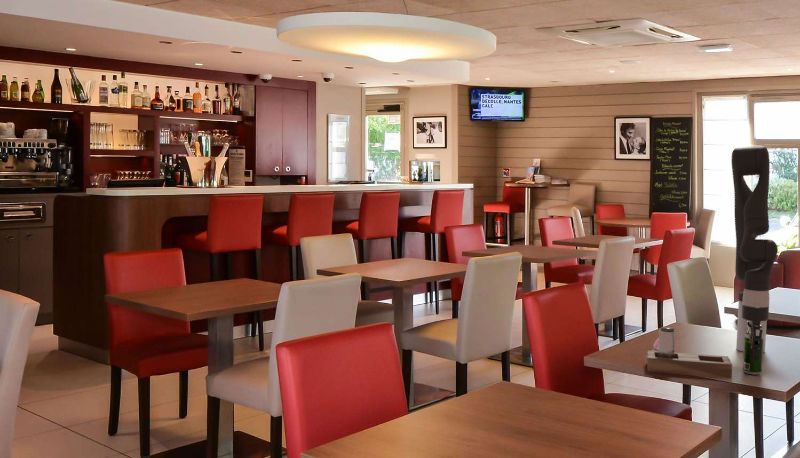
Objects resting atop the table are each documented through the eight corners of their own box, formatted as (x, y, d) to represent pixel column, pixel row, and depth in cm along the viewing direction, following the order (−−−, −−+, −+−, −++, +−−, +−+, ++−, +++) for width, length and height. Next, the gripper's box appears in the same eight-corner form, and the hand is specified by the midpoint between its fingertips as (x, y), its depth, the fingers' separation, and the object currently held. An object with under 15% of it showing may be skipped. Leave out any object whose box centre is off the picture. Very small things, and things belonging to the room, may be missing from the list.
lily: (660, 356, 280) (646, 331, 280) (690, 348, 271) (676, 323, 271) (644, 372, 271) (631, 347, 271) (674, 365, 263) (660, 339, 263)
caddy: (647, 365, 262) (647, 350, 262) (727, 371, 255) (728, 356, 255) (647, 373, 251) (648, 358, 251) (731, 380, 245) (732, 364, 245)
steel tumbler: (657, 366, 258) (659, 326, 257) (673, 367, 257) (675, 327, 256) (657, 370, 254) (659, 329, 252) (674, 371, 252) (676, 330, 251)
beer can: (755, 375, 250) (757, 336, 248) (739, 371, 254) (741, 333, 253) (765, 373, 252) (767, 334, 251) (749, 369, 257) (751, 331, 256)
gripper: (739, 299, 259) (737, 352, 261) (745, 307, 245) (742, 362, 247) (765, 300, 257) (762, 354, 259) (772, 308, 243) (769, 364, 245)
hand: (753, 358), depth 253 cm, fingers closed on beer can, 5 cm apart
